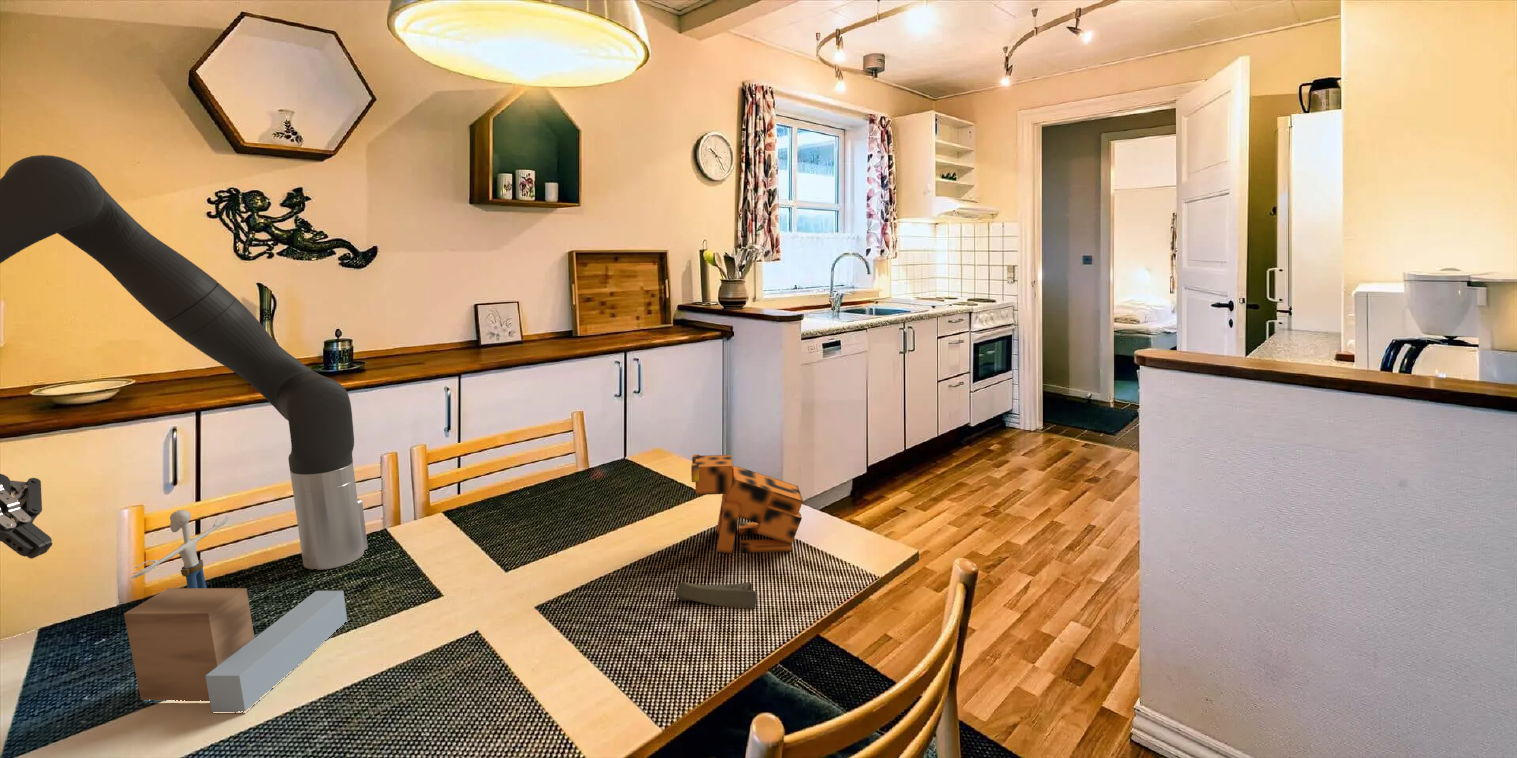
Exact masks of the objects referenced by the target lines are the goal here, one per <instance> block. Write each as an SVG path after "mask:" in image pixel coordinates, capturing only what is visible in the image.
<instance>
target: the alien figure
mask: <svg viewBox="0 0 1517 758" xmlns="http://www.w3.org/2000/svg"><path fill="white" fill-rule="evenodd" d="M221 517H222V515H220V516H217V518H216V520H215V522H214V524H213V525H212V527H211V528H209V529H207V530H206V531H204V532H203V533H201V534H199V535H197V536H195V537H193V538H191V535H190V529H189V522H190V521H191V519H192V514H191V512H189V511H188V510H187V509H179V510H176V511H174V512H172V513H171V514H170V516H169V521H170V523H169V528H170V531H171V532H172V533H177V532H179V530H182V536H183V537H182V538H183V542H184V543H182V544H181V545H179V547H178V548H176V549H175V550H173V551H171V552H169V553H168V554H166V555H164V557H161V558H160V559H159V560H157V559H153V560H146V561H144V562H141V563H139V564H138V565H137V566H135V567H134V569H138V568H139V567H140V566H142V565H144V564H146V563H151V564H150V565H148V566H147V567H144V568H142V569H139V570H138V571H135V572H133V573H131V574H130V580H133V579H137V578H138V577H141V576H143V575H145V574H146V573H149V572H150V571H152V570H154V569H155V568H156V567H157V566H159V565H160V564H161V563H164V562H166V561H168V560H170V559H172V558H174V557H175V556H176V555H179V556H180V558H181V560H182V561H183V566H182V567H181V569H180V574H181V576H182V577H185V580H186V586H187V587H186V588H208V587H207V583H206V578H205V573H204V561H203V559H199V557H198V554H197V546H198V542H199V541H201V540H203V539H204V538H206V537H207V536H208V535H209V534H211V532H213V531H215V530H217V529H219V528H221V527H222V526H224V525H226V523H227V521H228V520H229V519H230V518H231V516H229V515H227V516H225V518H224V519H223V520H222V521H220V522H218V520H219V519H220V518H221ZM217 522H218V523H217Z"/></svg>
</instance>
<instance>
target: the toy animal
mask: <svg viewBox="0 0 1517 758" xmlns="http://www.w3.org/2000/svg"><path fill="white" fill-rule="evenodd" d="M732 459H733V458H732V455H731V454H715V455H700V454H693V455H692V458H691V461H692V463H691V467H690V468H691V473H690V475H691V477H690V478H691V483H694V484H695V495H696V496H703V495H704V496H706V495H721V502H720V503H721V504H720V507H719V509H720V510H719V516H718V521H717V525H716V526H717V528H716V534H717V535H718V539H717V546H716V548H717V550H716V551H717V553H723V554H730V555H731V554H733V549H734V542H735V537H736V532H737V526H738V535H739V536H742V535H743V536H744V535H746V536H748V535H761V536H764V537H767V538H763V539H761V538H760V539H739V545H740V546H739V547H740V548H739V549H740V553H741V554H748V553H749V554H750V553H751V554H752V553H754V554H755V553H777V552H778V553H782V552H792V550H793V549H792V548H793V547H792V545H793V542H794V540H795V537H796V534H797V532H798V530H799V526H800V524H801V522H802V514H801V512H800V510H801V507H802V505H803V502H804V500H803V496H802V494H801V491H800V488H799V486H798V485H796V484H792V483H789V482H787V481H784V480H780V479H777V478H775V477H771V476H769V475H768V476H767V475H764V474H762V473H759V472H756V471H752V470H751V469H750V470H749V469H746V468H744V467H740V466H737V465H734V464H733V463H732V462H733V461H732ZM739 518H740V519H743V520H746V521H749V522H738V520H739Z"/></svg>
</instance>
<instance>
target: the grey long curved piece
mask: <svg viewBox="0 0 1517 758" xmlns="http://www.w3.org/2000/svg"><path fill="white" fill-rule="evenodd" d="M752 586H753V584H752V582H751V581H750V582H742V583H729V584H695V583H690V582H686V581H682V582H680V583H679V584H678V585H677V587H676V589H675V593H674V594H675V596H676V597H677V598H678V600H680V601H684V602H687V601H693V602H698V603H702V604H706V605H711V606H715V607H716V606H717V607H724V608H736V609H737V608H739V609H755V608H756V606H757V600H758V599H757V598H758V596H757V595H758V593H757V591H755V590H753V587H752Z"/></svg>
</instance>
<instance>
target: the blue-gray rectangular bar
mask: <svg viewBox="0 0 1517 758" xmlns="http://www.w3.org/2000/svg"><path fill="white" fill-rule="evenodd" d="M344 593H345V592H344V590H315V591H314V592H313V593H312V594H310V595H309V596H307V597H306V598H305V599H304V600H302V601H300V603H299V604H297V605H296V606H295V607H293V608H292V609H290V610H289V611H288V612H287V613H285V614H283V615H282V616H281V617H280V618H278V619H277V620H276V621H275V622H273V623H271V625H270V626H268V627H267V628H266V629H264V630H263V631H262V632H260V633H259V634H258V635H257V636H254V639H253V640H251V641H250V642H249V643H247V644H246V645H245V646H243V647H242V648H241V649H240V650H238V651H237V652H236V653H234V654H233V655H232V656H230V657H229V658H228V659H226V660H225V661H224V662H223V663H221V664H220V665H219V666H217V667H216V668H215V669H213V670H212V671H211V672H209V673H208V674H207V675H206V676H205V677H206V682H207V688H208V694H209V699H210V704H209V705H210V710H211V713H212V712H238V711H240V712H241V711H243V712H244V711H246V710H247V709H248V708H250V707H251V706H252V705H253V704H254V703H255V702H256V701H258V700H259V699H260V697H262V696H263V695H264V694H265V693H267V692H268V691H269V690H270V689H272V687H273V686H275V685H276V684H277V683H278V682H279V681H280V680H281V679H282V678H284V677H285V676H286V675H287V674H288V673H289V672H290V671H292V670H293V669H294V668H295V667H297V666H298V664H300V663H301V664H302V663H303V662H302V661H303V660H304V659H306V658H307V657H308V656H309V655H310V654H311V653H312V652H314V651H315V649H316V648H318V647H319V646H320V645H321V644H322V643H323V642H324V641H325V640H327V639H328V638H329V637H330V636H331V635H332V634H333V633H334V632H336V630H337V629H339V628H340V627H341V626H342V625H344V623H345V622H347V623H348V616H347V615H348V614H347V609H346V608H347V607H346V602H345V594H344ZM344 626H345V625H344ZM342 627H343V626H342ZM342 627H341V628H342ZM341 628H340V629H341ZM340 629H339V630H340ZM336 633H337V632H336ZM332 636H333V635H332ZM332 636H331V637H332ZM331 637H330V638H331ZM330 638H329V639H330ZM329 639H328V640H329ZM328 640H327V641H328ZM322 645H323V644H322ZM322 645H321V646H322ZM321 646H320V647H321ZM320 647H319V648H320ZM319 648H318V649H319ZM315 652H316V651H315ZM312 654H313V653H312ZM312 654H311V655H312ZM311 655H310V656H311ZM310 656H309V657H310ZM309 657H308V658H309ZM308 658H307V659H308ZM307 659H306V660H307ZM301 664H300V665H301ZM298 667H299V666H298ZM298 667H297V668H298ZM293 671H294V670H293ZM293 671H292V672H293ZM272 690H273V689H272Z"/></svg>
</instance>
